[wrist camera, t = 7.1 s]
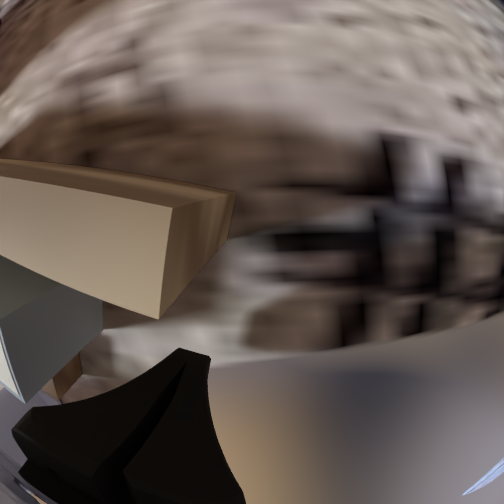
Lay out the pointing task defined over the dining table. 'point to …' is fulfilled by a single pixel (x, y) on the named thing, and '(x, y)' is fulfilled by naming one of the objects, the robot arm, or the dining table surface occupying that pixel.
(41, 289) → the boxed book
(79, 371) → the walnut block
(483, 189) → the dining table surface
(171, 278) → the shelf wall
